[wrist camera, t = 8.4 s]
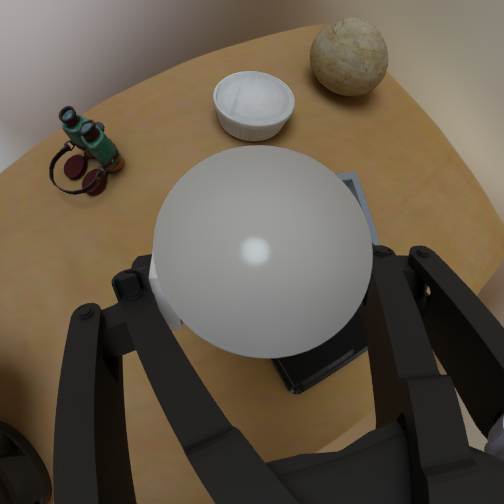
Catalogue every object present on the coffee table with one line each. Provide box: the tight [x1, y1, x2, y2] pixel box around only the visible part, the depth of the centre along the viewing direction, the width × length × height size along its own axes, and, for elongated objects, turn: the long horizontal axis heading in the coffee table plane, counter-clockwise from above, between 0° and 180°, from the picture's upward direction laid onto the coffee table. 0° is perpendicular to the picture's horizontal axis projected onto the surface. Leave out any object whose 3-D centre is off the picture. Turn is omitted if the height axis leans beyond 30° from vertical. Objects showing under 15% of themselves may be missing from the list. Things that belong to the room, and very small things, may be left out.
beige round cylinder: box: [153, 145, 373, 358], centre depth 15 cm, size 7×7×12 cm
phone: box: [270, 308, 368, 394], centre depth 36 cm, size 8×1×15 cm
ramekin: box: [213, 71, 295, 141], centre depth 40 cm, size 11×11×5 cm
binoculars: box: [49, 106, 124, 195], centre depth 33 cm, size 9×11×10 cm
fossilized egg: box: [310, 18, 388, 96], centre depth 40 cm, size 13×13×15 cm
